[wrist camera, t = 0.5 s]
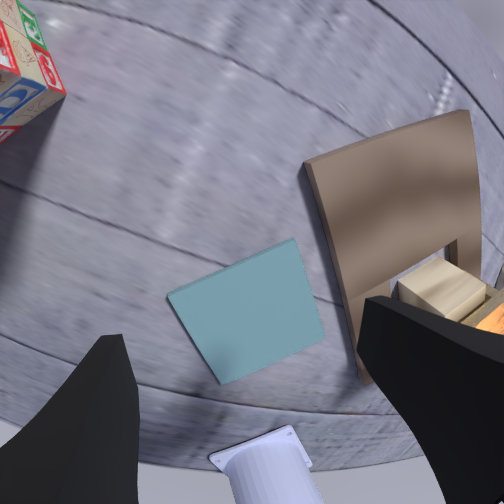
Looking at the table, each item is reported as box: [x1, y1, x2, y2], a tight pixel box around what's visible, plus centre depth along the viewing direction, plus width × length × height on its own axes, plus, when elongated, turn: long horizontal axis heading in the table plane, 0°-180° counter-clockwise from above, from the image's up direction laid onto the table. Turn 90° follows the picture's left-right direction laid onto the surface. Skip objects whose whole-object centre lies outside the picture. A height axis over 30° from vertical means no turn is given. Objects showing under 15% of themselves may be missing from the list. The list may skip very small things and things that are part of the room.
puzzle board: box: [304, 109, 482, 386], centre depth 22 cm, size 19×14×1 cm
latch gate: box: [461, 270, 504, 335], centre depth 19 cm, size 2×8×8 cm, turn 110°
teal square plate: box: [168, 238, 326, 385], centre depth 20 cm, size 8×8×1 cm
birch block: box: [398, 256, 486, 323], centre depth 21 cm, size 4×4×6 cm
